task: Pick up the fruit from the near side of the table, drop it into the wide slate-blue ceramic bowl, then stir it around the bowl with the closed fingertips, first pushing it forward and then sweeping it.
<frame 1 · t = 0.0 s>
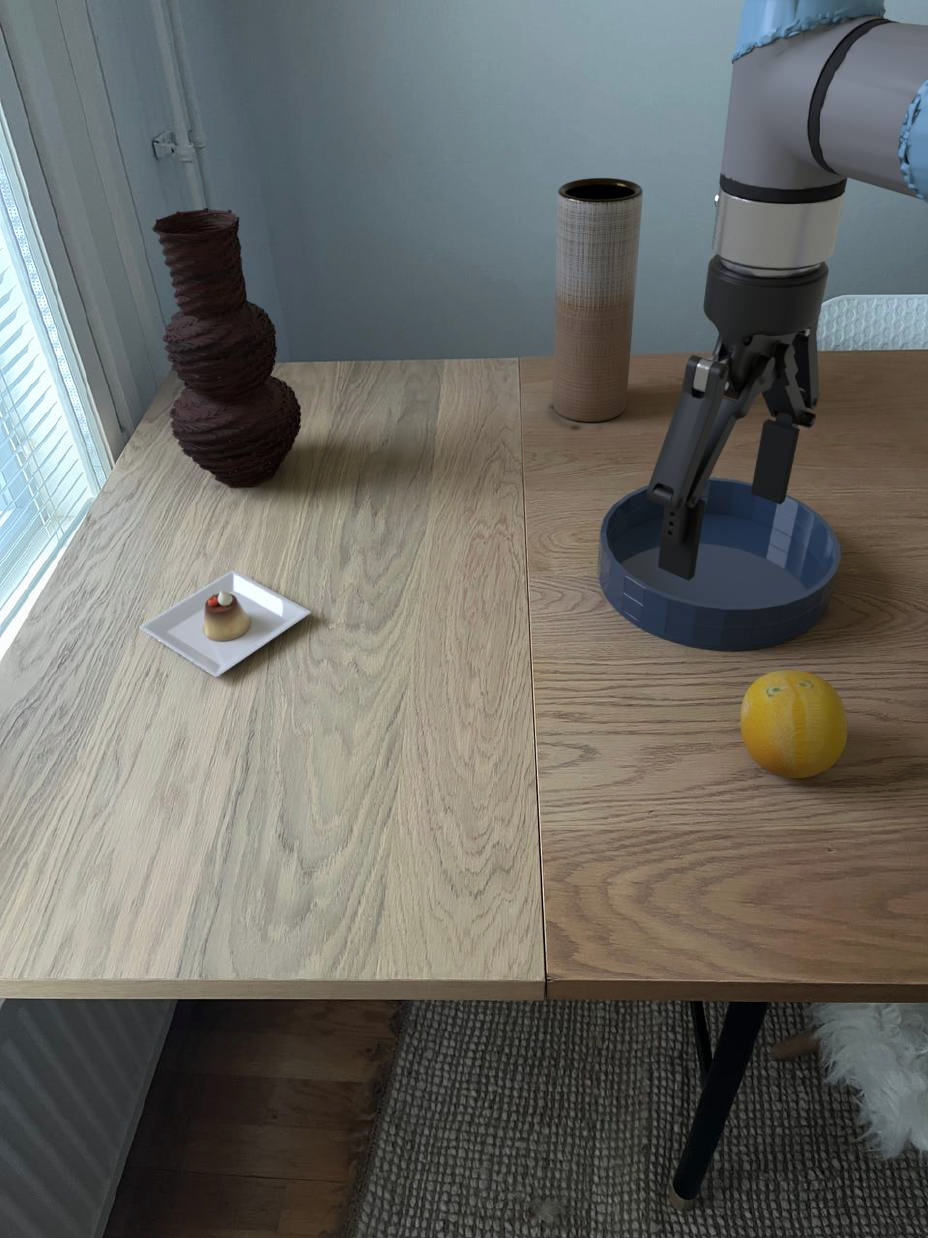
hand: (724, 532, 74), 17 cm above the table, tool pointing down, fingers open, 13 cm apart
vase: (247, 472, 118), on the table
dessert: (227, 629, 94), on the table
fruit: (783, 758, 78), on the table
planter: (589, 407, 128), on the table
bowl: (711, 577, 98), on the table
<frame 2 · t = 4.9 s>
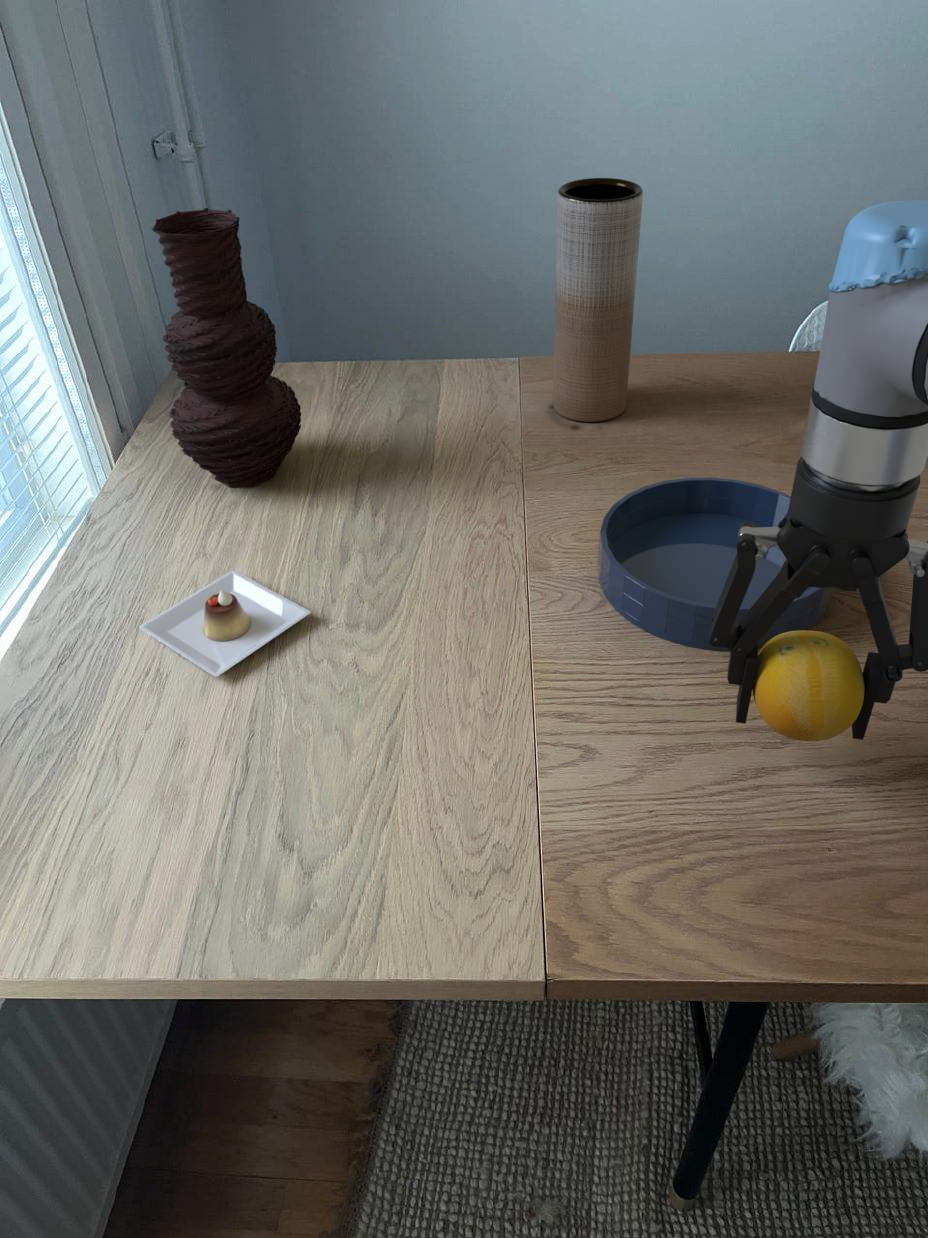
hand: (798, 719, 75), 5 cm above the table, tool pointing down, fingers closed on fruit, 8 cm apart
fruit: (797, 723, 75), point 4 cm above the table, touching gripper
everything else where it was.
when the fingers open (1 cm above the table, at t = 11.8 s): fruit stays where it is, resting on bowl.
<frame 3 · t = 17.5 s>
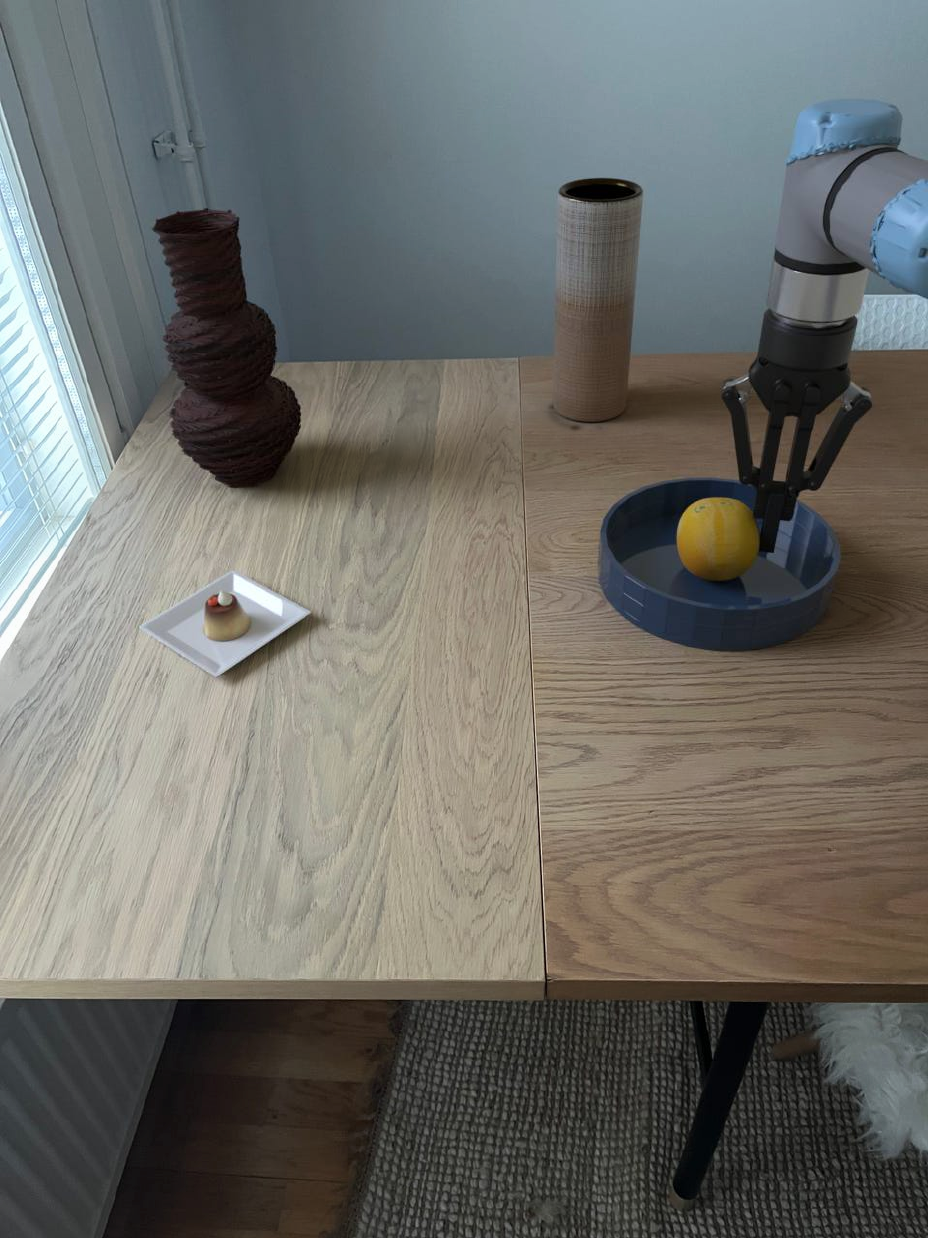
hand: (766, 544, 94), 5 cm above the table, tool pointing down, fingers closed
fruit: (712, 572, 97), point 1 cm above the table, touching bowl, gripper
everything else where it was.
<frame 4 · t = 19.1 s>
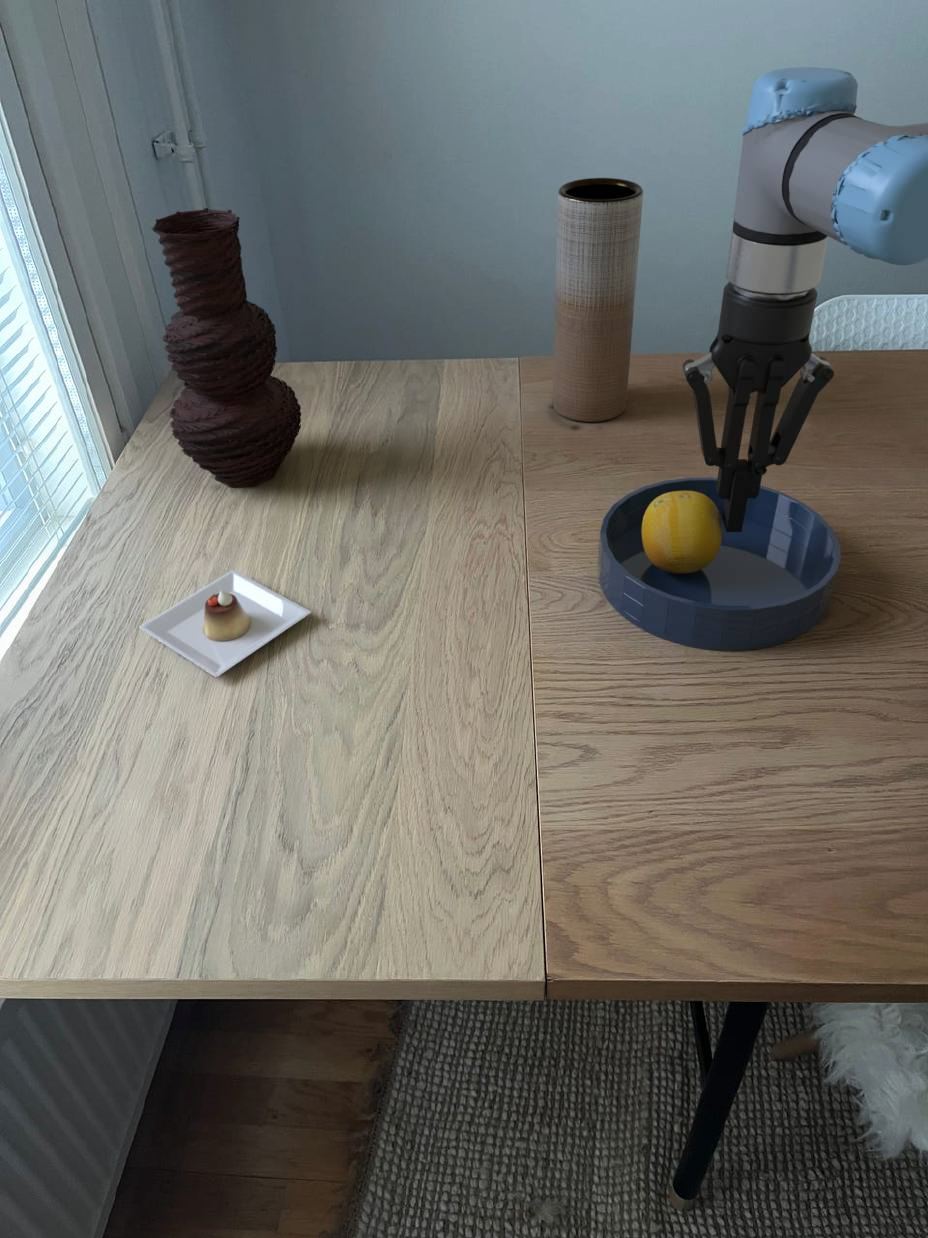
hand: (731, 524, 93), 7 cm above the table, tool pointing down, fingers closed
fruit: (682, 565, 98), point 1 cm above the table, touching bowl, gripper
everything else where it was.
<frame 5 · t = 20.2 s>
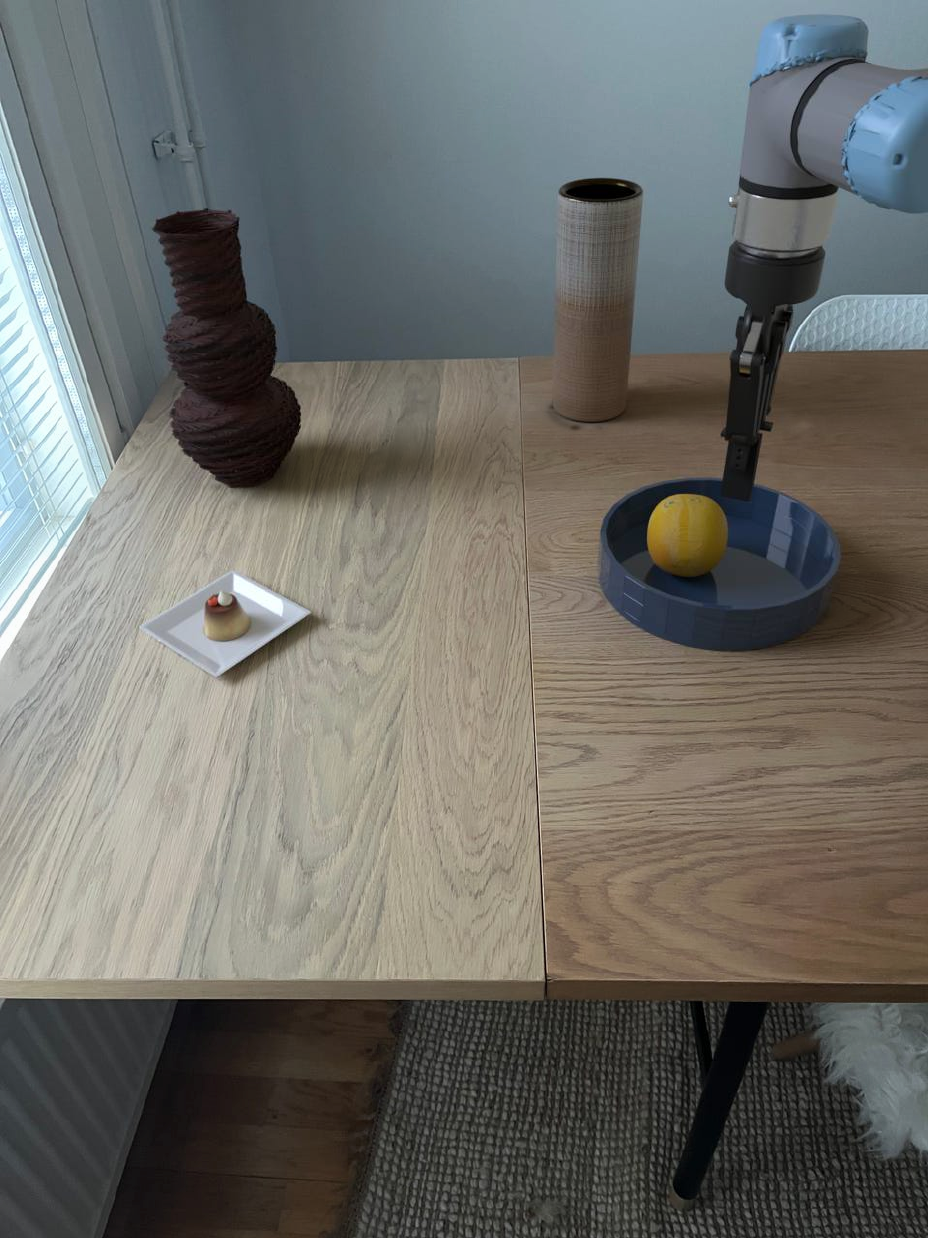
hand: (736, 494, 91), 10 cm above the table, tool pointing down, fingers closed
fruit: (682, 568, 98), point 1 cm above the table, touching bowl
everything else where it was.
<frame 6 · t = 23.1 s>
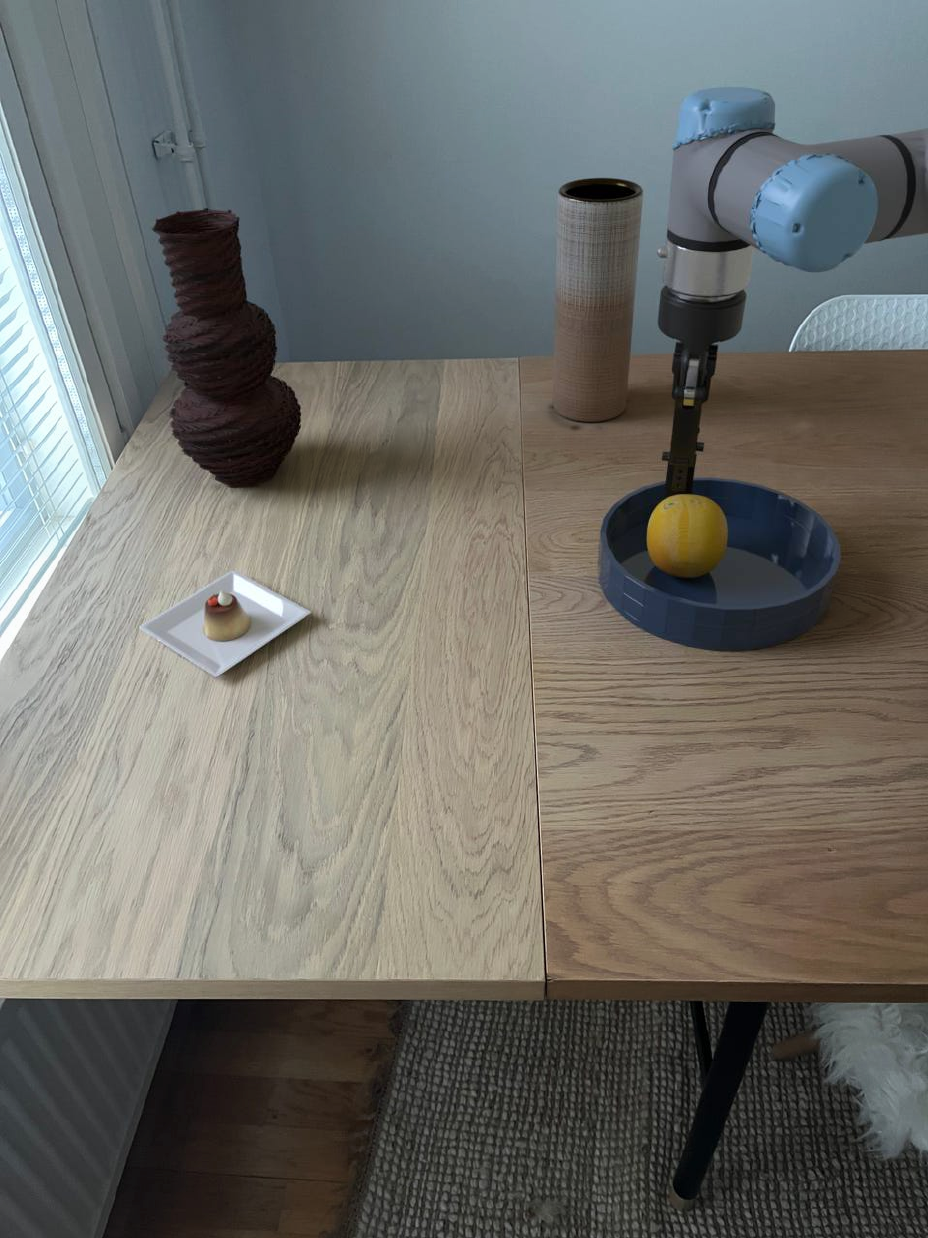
hand: (675, 510, 99), 5 cm above the table, tool pointing down, fingers closed
fruit: (682, 568, 98), point 1 cm above the table, touching gripper
everything else where it was.
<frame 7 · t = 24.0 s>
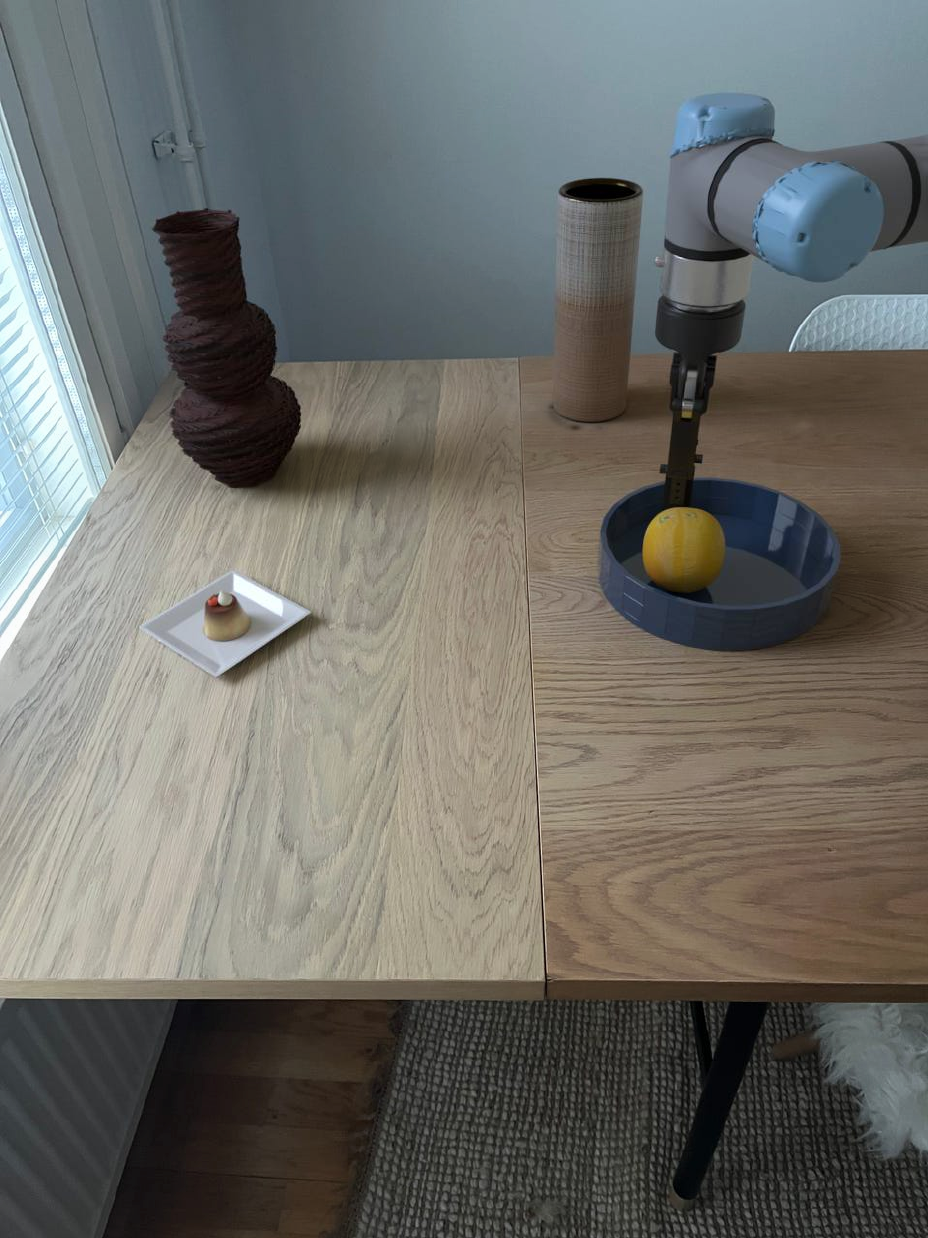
hand: (673, 523, 97), 5 cm above the table, tool pointing down, fingers closed
fruit: (679, 582, 96), point 1 cm above the table, touching bowl, gripper
everything else where it was.
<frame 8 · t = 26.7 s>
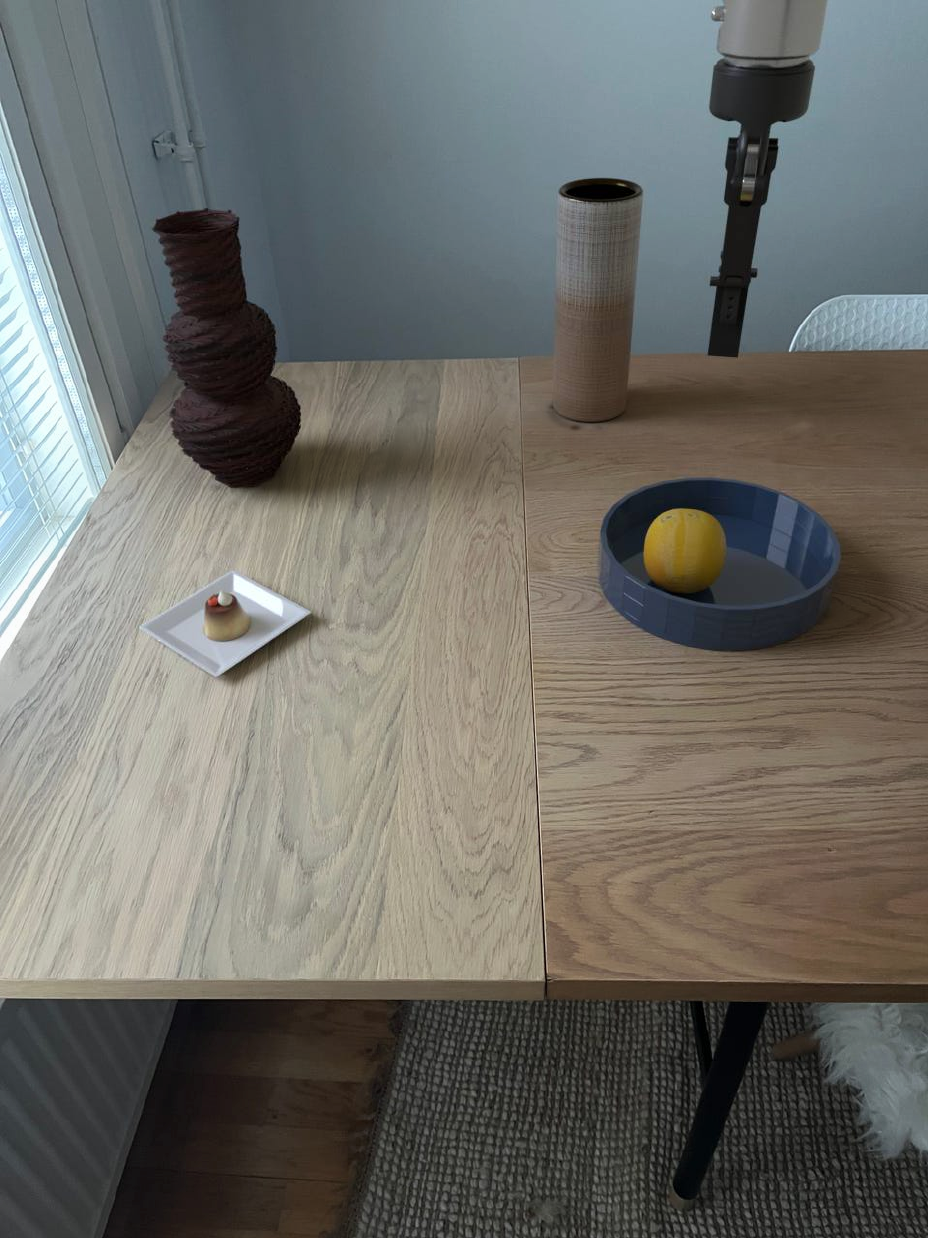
hand: (722, 352, 87), 22 cm above the table, tool pointing down, fingers closed
fruit: (679, 584, 96), point 1 cm above the table, touching bowl
everything else where it was.
at the end: fruit inside the target area in the bowl (3.8 cm from its centre), point 0.6 cm above the bowl's base; the gripper is holding nothing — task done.
